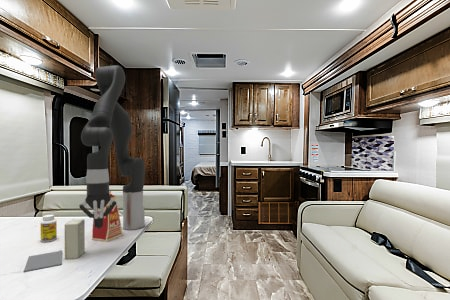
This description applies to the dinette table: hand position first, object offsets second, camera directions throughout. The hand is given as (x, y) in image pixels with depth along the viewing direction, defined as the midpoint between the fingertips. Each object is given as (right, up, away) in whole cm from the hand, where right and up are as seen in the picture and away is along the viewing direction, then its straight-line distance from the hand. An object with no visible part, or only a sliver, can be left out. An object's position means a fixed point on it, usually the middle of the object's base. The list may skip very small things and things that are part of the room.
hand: (98, 228), depth 99 cm
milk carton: (-4, -9, +15) cm, 18 cm away
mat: (-14, -9, -8) cm, 19 cm away
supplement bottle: (-27, -9, +12) cm, 31 cm away
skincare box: (-7, -9, -4) cm, 12 cm away
